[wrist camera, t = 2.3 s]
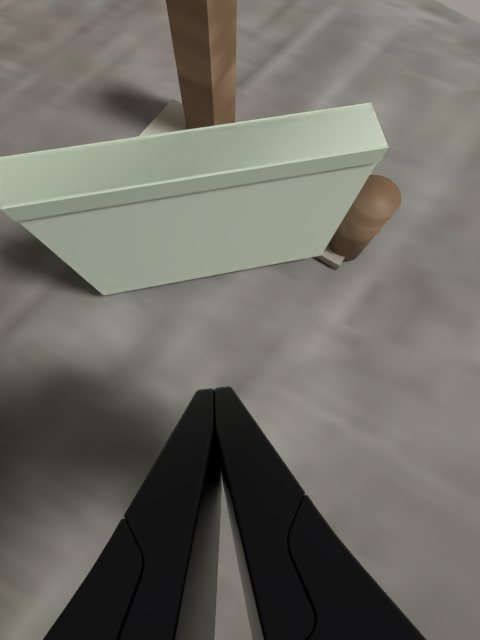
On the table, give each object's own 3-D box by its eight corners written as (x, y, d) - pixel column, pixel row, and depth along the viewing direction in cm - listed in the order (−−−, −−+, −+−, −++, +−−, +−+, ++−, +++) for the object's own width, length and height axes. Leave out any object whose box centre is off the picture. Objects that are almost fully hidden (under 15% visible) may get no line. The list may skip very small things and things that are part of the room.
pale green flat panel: (313, 227, 20) (370, 102, 12) (321, 256, 19) (388, 147, 11) (100, 265, 19) (-1, 157, 11) (103, 297, 18) (0, 209, 10)
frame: (346, 275, 20) (433, 177, 11) (134, 150, 22) (71, -15, 13) (384, 211, 21) (489, 80, 13) (181, 98, 23) (151, -82, 15)
